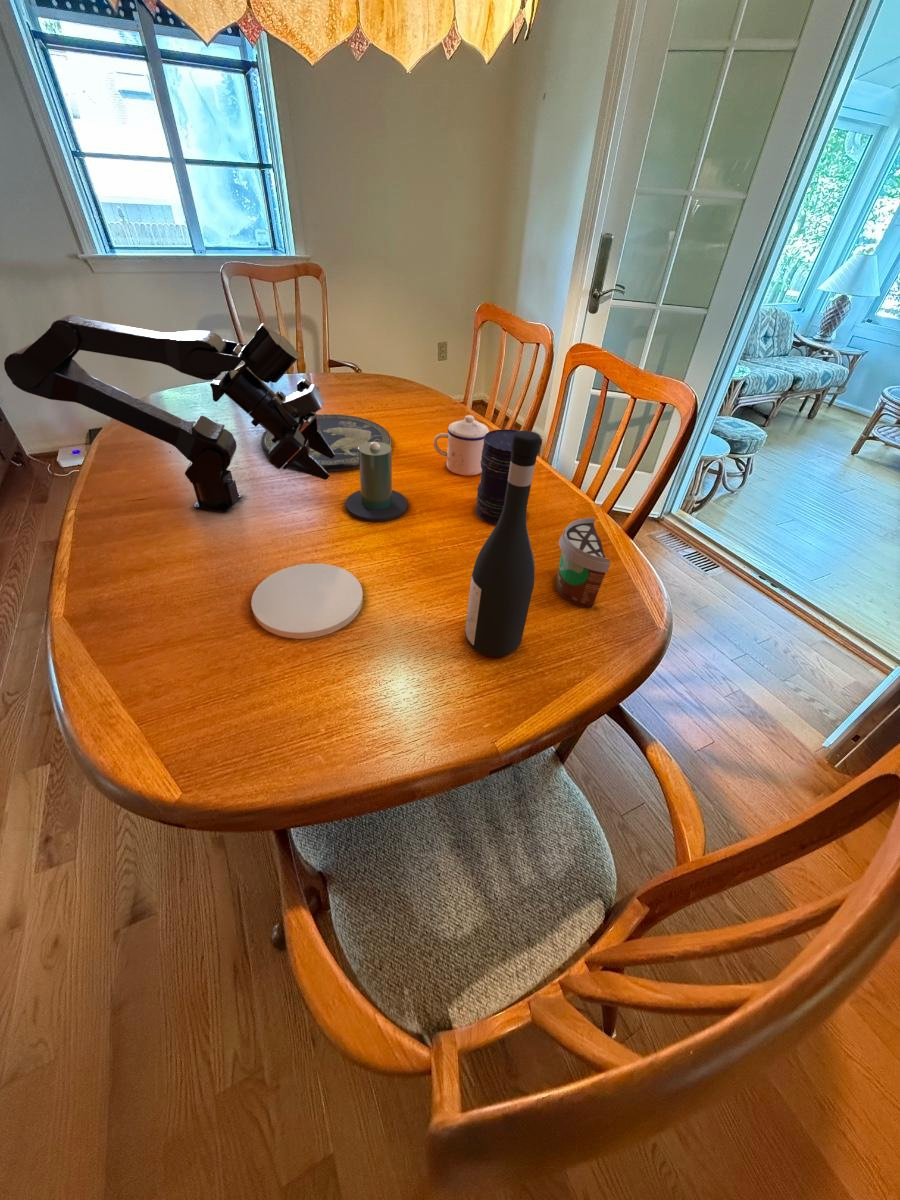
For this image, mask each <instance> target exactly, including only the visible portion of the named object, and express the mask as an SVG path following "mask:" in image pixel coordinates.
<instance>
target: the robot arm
mask: <svg viewBox="0 0 900 1200" xmlns="http://www.w3.org/2000/svg"><path fill="white" fill-rule="evenodd" d="M80 351H85V352H90V353H96V354H101V355H109V356H115V357H121V358H127V359H134V360H139V361H144V362H151V363H157V364H161V365H165V366H168V367H170V368H171V369H174V370H176V371H177V372H179V373H181V374H184V375H187V376H190V377H193V378H197V379H199V380H200V379H201V380H203V381H212V382H210V383H209V386H210V388H211V394H212V395H211V396H212V401H214V402H215V403H217V402H219V401H220V399H221V398H222V397H223V396H224V395H225V396H227V398H229V399H230V400H231V401H232V402H233V403H234V404H236V405H237V406H238V407H239V408H240V409H241V410H242V411H244V413H246V414H247V415H248V416H249V417H251V418H252V420H251V422H250V424H252V425H253V426H254V428H256V427H258V426H261V427H262V428H263V429H264V430H265V431H268V432H269V433H270V434H271V435H272V436H273V438H272V440H271V441H272V442H274V443H275V444H274V445H273V446H272V448H271V449H270V451H269V453H268V456H267V459H268V462H269V464H270V465H272V466H273V467H274V468H276V469H277V470H280V469H281V468H282V469H283V470H290V471H294V472H298V473H303V474H305V475H309V476H312V477H315V478H319V479H322V480H328V479H329V478H330V477H331V476H330V474H329V473H328V472H327V471H326V470H325V469H324V467H323V466H322V465H321V464H320V463H319V462H318V461H317V459H316V458H315V457H314V456H313V455H312V454H311V453H310V451H309V448H311V449H313V450H315V451H317V452H318V453H320V454H322V455H324V456H326V457H328V458H330V459H332V458H333V457H334V456H335V453H334V452H333V450H332V449H331V447H330V446H329V444H328V442H327V441H326V439H325V438H324V436H323V435H322V433H321V431H320V429H319V427H318V414H319V413H317V412H318V411H320V410H322V408H323V404H324V403H325V401H324V399H323V397H322V395H321V393H320V391H321V390H320V387H319V386H317V385H316V384H315V383H311V382H310V381H309V380H308V379H306V378H304V379H301V380H299V381H298V382H297V384H296V391H293V392H292V393H291V394H288V395H286V394H284V393H283V391H281V390H280V391H279V390H277V391H276V392H275V391H273V390H272V389H271V388H270V387H269V386H268V385H267V384H270V383H273V384H277V383H278V382H279V381H280V380H281V378H282V377H283V376H284V375H285V374H286V373H287V372H288V371H289V370H290V369H291V368H292V366H293V365H294V364H295V363H296V362H297V361H298V360H299V359H300V355H299V352H298V351H297V350H296V348H295V347H294V346H293V344H292V343H291V342H290V341H289V340H288V339H287V338H286V337H285V335H281V334H280V333H278V332H277V331H275V330H274V329H272V328H270V327H269V326H268V325H267V324H266V323H263V322H262V323H261V324H260V325H259V327H258V328H257V330H256V332H255V333H254V335H253V336H252V337H251V339H250V340H249V341H248V342H247V343H241V342H236V341H232V340H227V339H223V338H222V337H221V336H220V335H219V334H217V332H213V331H210V330H183V331H175V332H162V331H156V330H150V329H144V328H139V327H133V326H127V325H123V324H117V323H111V322H104V321H101V320H100V321H99V320H93V319H88V318H83V317H80V316H78V315H74V314H67V315H65V316H63V317H61V318H59V319H57V320H54V321H53V322H52V323H51V325H50V327H49V328H48V329H47V330H46V331H45V332H44V333H43V334H42V335H41V336H40V337H39V338H37V339H36V340H35V341H33V342H32V343H29V344H27V345H25V346H23V347H21V348H20V349H18V350H15V351H14V352H12V353H10V354H8V355H7V356H6V357H5V359H4V361H3V368H4V371H5V374H6V375H7V377H8V378H9V380H10V381H11V384H12V385H14V386H15V387H16V388H17V389H19V390H20V391H23V392H25V393H26V394H27V393H28V394H31V395H35V396H36V397H37V396H38V397H40V398H44V399H47V400H51V401H61V402H69V403H76V404H80V405H82V406H84V407H86V408H88V409H91V410H93V411H95V412H98V413H100V414H101V415H104V416H106V417H109V418H111V419H113V420H114V421H118V422H119V423H122V424H124V425H126V426H129V427H131V428H133V429H136V430H137V431H139V432H140V431H141V432H142V433H145V434H146V435H149V436H151V437H153V438H155V439H158V440H159V441H162V442H165V443H167V444H169V445H171V446H173V447H175V449H177V450H178V452H180V453H181V455H183V457H185V458H186V460H188V461H189V462H190V463H189V465H188V466H187V468H186V469H185V472H184V475H185V477H186V478H187V479H188V481H189V482H190V484H192V487H193V490H194V493H195V496H196V500H197V501H196V502H195V503H194V504H193V505H192V506H193V508H194V509H196V510H197V509H198V510H204V511H212V512H218V513H223V514H224V513H227V512H229V510H231V509H232V507H234V506H235V505H236V504H237V503H238V502H239V501H240V500H241V499H242V498H243V496H242V494H241V493H239V491H238V488H237V484H236V483H237V482H236V480H235V479H234V478H233V474H232V471H231V470H228V468H229V466H230V465H231V464H232V461H233V458H234V456H235V453H236V451H237V441H236V439H235V437H234V435H233V433H231V431H229V430H228V429H227V428H225V426H226V424H222V423H217V422H215V421H213V420H212V419H210V418H208V417H207V416H205V415H202V414H200V415H199V416H198V417H197V419H196V420H195V421H194V420H186V419H184V418H181V417H179V416H177V415H176V414H175V415H174V414H172V413H170V412H169V411H166V410H164V409H162V408H159V407H157V406H155V405H153V404H151V403H150V402H147V401H145V400H142V399H141V398H138V397H136V396H134V395H132V394H130V393H128V392H125V391H124V390H122V389H119V388H117V387H115V386H113V385H111V384H109V383H107V382H104V381H102V380H100V379H98V378H95V377H93V376H92V375H90V374H89V373H88V372H87V371H86V370H85V369H84V368H83V367H82V366H81V365H80V364H79V363H78V362H77V361H76V360H75V359H74V357H76V355H77V354H78V353H79V352H80ZM241 362H244V364H243V365H242V366H241V367H240V368H239V370H236V369H237V367H239V365H240V364H241ZM224 372H226V373H225V375H224V376H222V378H221V379H220V380H216V378H218V377H219V376H221V374H222V373H224ZM315 414H317V415H316V416H315V417H314V418H313V419H312V418H311V416H314V415H315Z"/></svg>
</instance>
